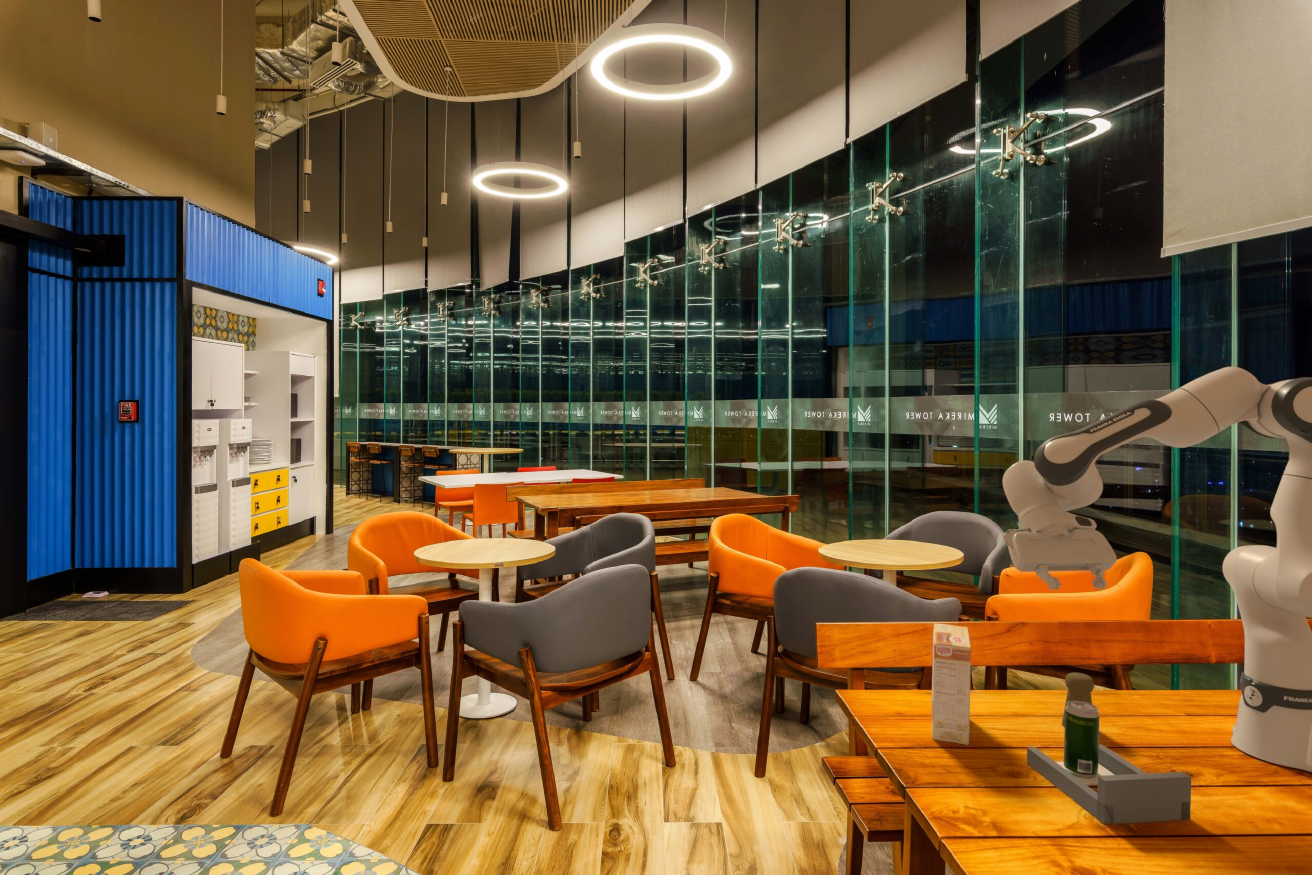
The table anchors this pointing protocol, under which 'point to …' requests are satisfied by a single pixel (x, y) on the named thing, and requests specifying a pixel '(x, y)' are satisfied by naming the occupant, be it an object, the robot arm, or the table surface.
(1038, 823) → the table surface
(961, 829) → the table surface
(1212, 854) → the table surface
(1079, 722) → the beer can
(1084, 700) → the cork
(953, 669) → the coffeecake box
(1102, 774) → the bay
